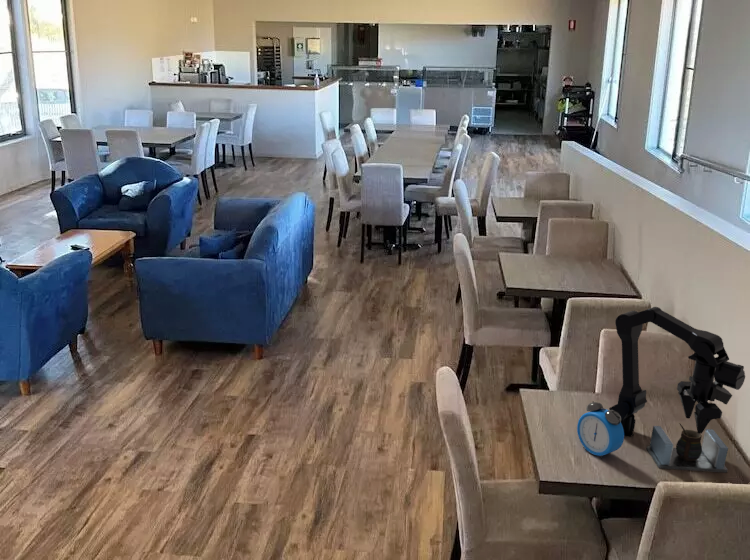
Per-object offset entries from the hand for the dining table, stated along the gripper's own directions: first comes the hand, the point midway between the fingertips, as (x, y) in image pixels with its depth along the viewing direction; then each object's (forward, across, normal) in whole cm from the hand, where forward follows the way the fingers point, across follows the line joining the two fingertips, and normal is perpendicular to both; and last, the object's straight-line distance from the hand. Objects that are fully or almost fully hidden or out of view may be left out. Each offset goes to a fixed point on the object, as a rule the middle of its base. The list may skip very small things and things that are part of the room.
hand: (693, 425), depth 221 cm
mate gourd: (+11, 0, 0) cm, 11 cm away
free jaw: (+10, 0, +8) cm, 13 cm away
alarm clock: (+12, +2, +26) cm, 29 cm away
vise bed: (+12, 0, 0) cm, 12 cm away
